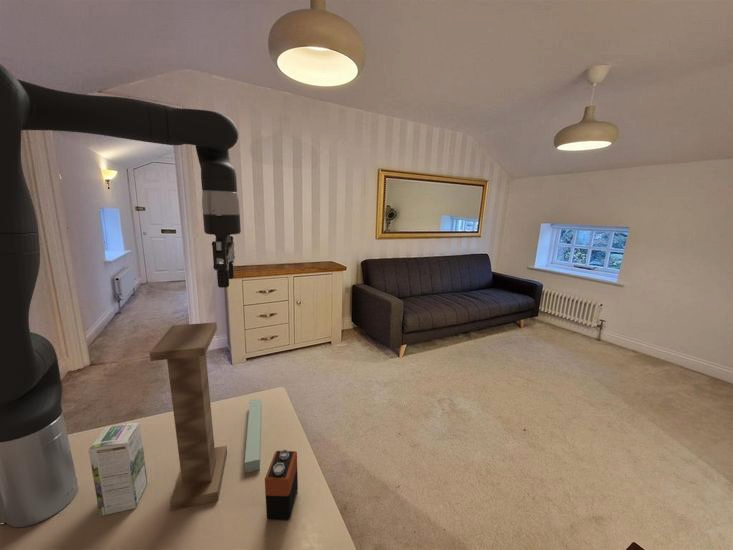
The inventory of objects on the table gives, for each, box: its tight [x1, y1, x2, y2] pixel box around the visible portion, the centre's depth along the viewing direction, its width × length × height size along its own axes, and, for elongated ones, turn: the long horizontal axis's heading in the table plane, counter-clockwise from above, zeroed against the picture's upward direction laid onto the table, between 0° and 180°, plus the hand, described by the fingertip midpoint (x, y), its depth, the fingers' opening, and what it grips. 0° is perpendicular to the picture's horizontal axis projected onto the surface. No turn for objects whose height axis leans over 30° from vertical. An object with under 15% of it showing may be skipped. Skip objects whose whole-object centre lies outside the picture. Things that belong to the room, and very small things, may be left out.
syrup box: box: [88, 422, 148, 517], centre depth 56 cm, size 6×6×14 cm
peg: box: [244, 398, 263, 474], centre depth 75 cm, size 3×22×3 cm, turn 18°
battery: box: [264, 449, 299, 521], centre depth 57 cm, size 4×7×10 cm, turn 179°
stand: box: [149, 322, 228, 512], centre depth 59 cm, size 8×12×32 cm, turn 17°
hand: (226, 282), depth 71 cm, fingers open, 8 cm apart
